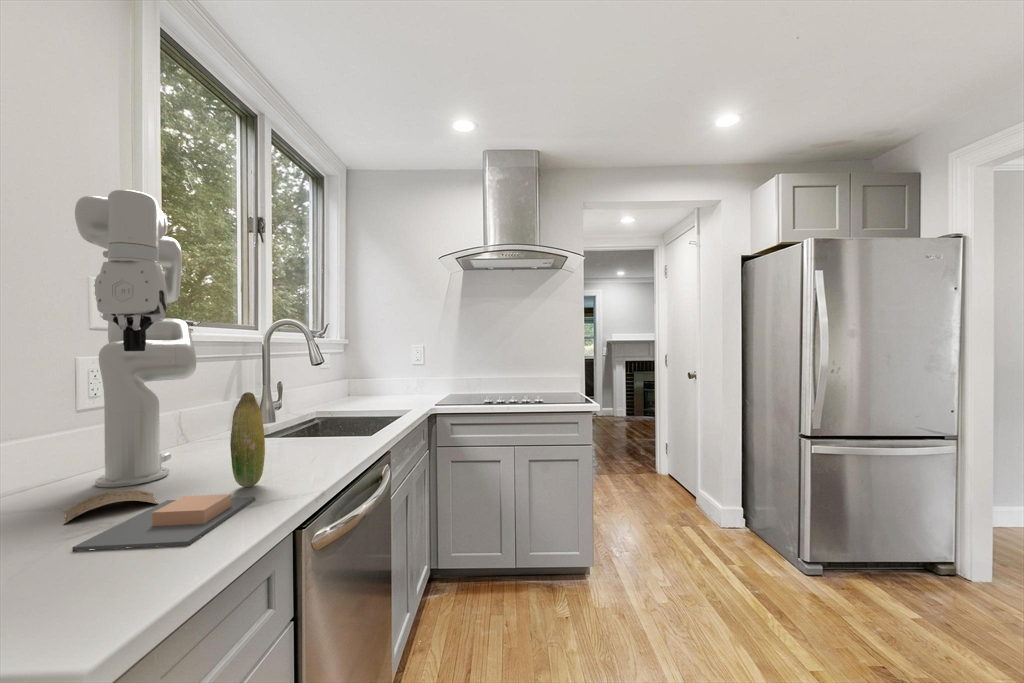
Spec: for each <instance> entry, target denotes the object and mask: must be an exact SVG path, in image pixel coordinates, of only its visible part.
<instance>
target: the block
mask: <svg viewBox="0 0 1024 683" xmlns="http://www.w3.org/2000/svg"><path fill="white" fill-rule="evenodd" d="M231 498H232V494H231V493H228V494H227V493H226V494H225V493H224V494H206V495H204V494H201V495H184V496H181V497H180V498H178V499H175V500H176V501H174V502H172V503H170V504H168V505H166V506H164V507H162V508H160V509H158V510H156V511H154V512H152V526H165V525H187V524H205V523H206V522H208V521H209V520H211V519H212V518H214V517H215V516H217V515H218V514H220V513H222V512H223V511H225V510H226V509H228V508H229V507H231Z"/></svg>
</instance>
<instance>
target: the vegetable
mask: <svg viewBox="0 0 1024 683" xmlns="http://www.w3.org/2000/svg"><path fill="white" fill-rule="evenodd" d="M229 445H230V457H231V469H232V470H231V471H232V474H233V477H234V482H236V483H237V485H239V486H241V487H243V488H251V487H254V486H255V485H257V484H258V483H259V481H260V480H261V478H262V475H263V473H264V465H265V457H266V449H265V448H266V440H265V429H264V424H263V417H262V410H261V408H260V405H259V404H258V402H257V398H256V396H255V394H254V393H253V392H249V391H246V392H244V393H243V394H242V395H241V397H240V399H239V401H238V403H237V404H236V406H235V408H234V411H233V414H232V422H231V431H230V443H229Z"/></svg>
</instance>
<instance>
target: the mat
mask: <svg viewBox="0 0 1024 683" xmlns="http://www.w3.org/2000/svg"><path fill="white" fill-rule="evenodd" d="M255 499H256V497H255V496H238V497H235V496H234V497H233V496H231V507H229V508H228V509H226V510H225V511H223V512H222V513H220V514H218V515H217V516H215V517H214V518H212V519H211V520H209V521H208V522H206V523H205V524H187V525H165V526H152V512H154V511H156V510H158V509H160V508H162V507H164V506H166V505H168V504H170V503H172V502H174V501H176V500H177V499H169V500H167V499H166V500H165V501H163V502H161V503H158V504H156V505H155V506H153V507H151V508H149V509H147V510H144V511H143V512H141V513H139V514H137V515H135V516H132V517H130V518H129V519H126V520H124V521H122V522H121V523H118V524H116V525H115V526H112V527H110V528H107V529H106V530H104V531H102V532H100V533H98V534H96V535H94V536H92V537H91V538H88V539H86V540H84V541H82V542H80V543H78V544H76V545H74V546H71V547H72V549H71V550H88V551H90V550H89V549H107V550H115V549H114V548H126V547H147V548H157V547H156V546H159V547H158V548H161V547H160V546H167V547H185V546H189V544H190V545H191V544H192V542H193V541H194V542H196V541H197V540H199V539H200V538H201V537H203V536H204V535H206V534H208V531H209V532H210V531H212V530H213V529H214V528H216V527H217V526H219V525H220V524H222V523H223V522H225V521H226V520H227V519H229V518H230V517H232V516H234V515H235V514H236V513H238V512H239V511H241V510H242V509H243V508H245V507H246V506H248V505H249V504H251V503H252V502H253V501H255ZM224 520H225V521H224ZM221 522H222V523H221ZM218 524H219V525H218ZM215 526H216V527H215ZM212 528H213V529H212ZM205 533H206V534H205ZM203 534H204V535H203ZM202 535H203V536H202ZM200 536H201V537H200ZM199 537H200V538H199ZM196 539H197V540H196ZM194 542H193V543H194Z"/></svg>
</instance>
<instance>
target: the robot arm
mask: <svg viewBox="0 0 1024 683" xmlns="http://www.w3.org/2000/svg"><path fill="white" fill-rule="evenodd" d="M74 218H75V223H76V227H77V230H78V233H79V235H80V237H82V239H83V240H85V241H86V242H88V243H90V244H92V245H95V246H98V247H100V248H104V249H106V250H104V251H103V252H102V256H103V257H104V258H106V259H107V261H103V262H102V265H101V268H100V272H99V273H98V275H96V277H95V278H94V282H95V284H94V283H93V288H94V287H95V292H94V296H96V297H95V301H96V309H97V311H98V312H99V313H101V314H102V320H103V321H107V339H108V341H107V342H108V343H106V344H105V345H103V346H102V347H101V348H100V350H99V351H98V352H99V353H98V366H99V371H100V375H101V380H102V387H103V400H104V401H103V404H104V418H103V419H104V475H101V476H99V477H98V478H96V479H95V482H94V485H95V487H98V488H122V487H129V486H135V485H141V484H145V483H149V482H155V481H157V480H160V479H163V478H165V477H167V476H168V475H169V468H167V467H162V464H163V463H165V462H167V461H170V460H171V458H172V455H171V453H170V452H165V453H161V452H160V451H161V450H160V449H161V448H160V444H161V443H160V442H161V441H160V439H161V438H160V436H161V435H160V401H159V397H158V396H157V394H156V393H155V392H153V390H152V389H149V388H148V386H146V385H145V383H147V382H160V381H175V380H177V381H178V380H184V379H188V378H190V377H191V376H192V375H194V373H195V371H196V369H197V355H196V350H195V346H194V340H193V337H192V333H191V330H190V327H189V325H188V323H187V322H186V321H184V320H182V319H179V318H174V317H173V318H172V317H171V318H168V317H166V312H167V308H168V304H172V303H174V302H176V301H177V300H178V299H179V297H180V293H181V283H182V281H181V280H182V267H183V253H182V252H183V250H182V248H181V246H180V243H179V242H178V241H177V240H176V239H175V238H173V237H170V236H165V235H166V234H167V233H168V228H169V227H168V217H167V216H166V215H165V214H164V212H163V211H162V210H161V208H160V207H159V203H158V202H157V200H156V198H155V197H153V196H152V195H151V194H147V193H145V192H141V191H138V190H130V189H116V190H112V191H111V192H110V193H109V194H108V196H107V197H102V196H94V195H85V196H82V197H80V198H79V199H78V200H77V202H76V204H75V207H74Z"/></svg>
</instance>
